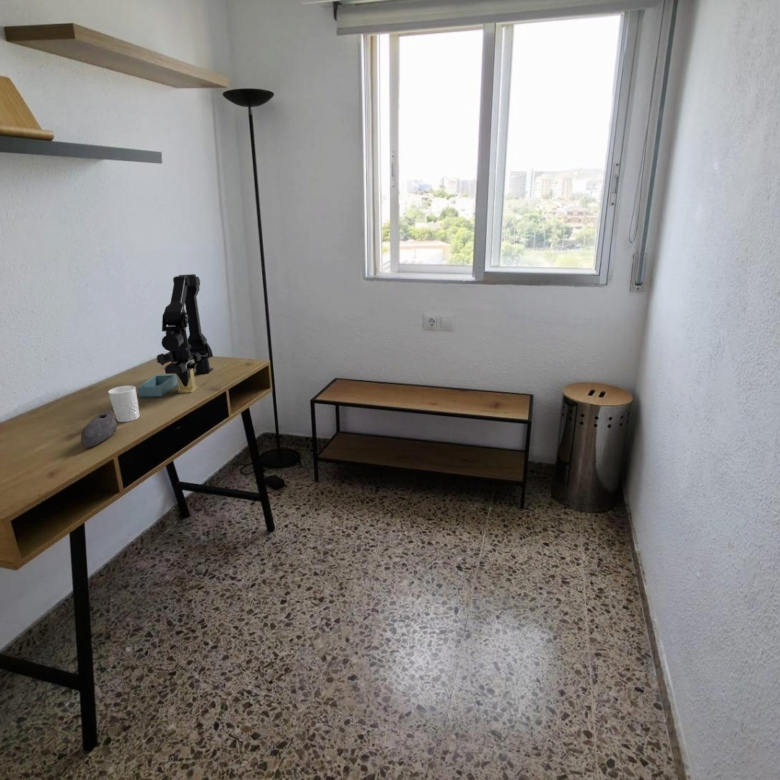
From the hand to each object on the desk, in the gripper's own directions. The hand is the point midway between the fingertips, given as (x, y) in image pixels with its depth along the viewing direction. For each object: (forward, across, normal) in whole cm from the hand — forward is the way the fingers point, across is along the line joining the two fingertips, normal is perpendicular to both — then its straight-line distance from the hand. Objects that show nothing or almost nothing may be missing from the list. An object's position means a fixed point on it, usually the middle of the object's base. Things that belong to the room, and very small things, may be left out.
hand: (187, 384), depth 195 cm
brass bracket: (+2, 0, 0) cm, 2 cm away
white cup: (+2, +27, -9) cm, 29 cm away
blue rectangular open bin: (+2, 0, -11) cm, 11 cm away
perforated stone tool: (+2, +44, -8) cm, 45 cm away
